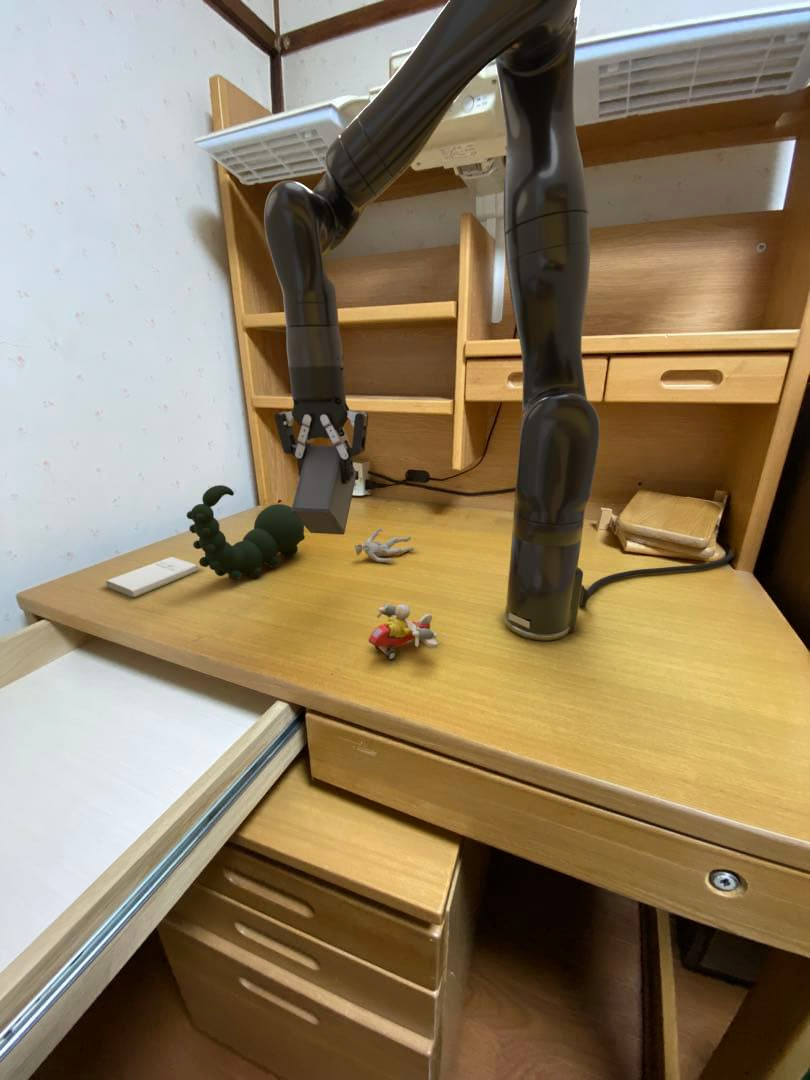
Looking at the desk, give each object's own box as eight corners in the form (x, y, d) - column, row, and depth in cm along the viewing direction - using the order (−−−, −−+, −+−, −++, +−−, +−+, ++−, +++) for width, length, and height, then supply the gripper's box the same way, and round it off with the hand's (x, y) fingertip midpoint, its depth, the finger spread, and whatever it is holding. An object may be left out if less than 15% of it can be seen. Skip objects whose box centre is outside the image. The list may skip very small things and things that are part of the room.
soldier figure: (418, 561, 93) (371, 558, 85) (404, 571, 96) (357, 569, 89) (409, 528, 96) (362, 522, 89) (395, 538, 99) (349, 533, 92)
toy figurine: (231, 605, 78) (327, 546, 97) (204, 500, 70) (315, 458, 89) (197, 591, 83) (295, 538, 102) (168, 492, 75) (280, 454, 94)
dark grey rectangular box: (324, 472, 76) (307, 445, 69) (357, 473, 75) (342, 446, 68) (310, 532, 72) (290, 510, 65) (344, 534, 71) (327, 512, 64)
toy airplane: (367, 661, 60) (365, 619, 58) (381, 625, 69) (380, 586, 66) (436, 667, 59) (437, 624, 57) (442, 630, 67) (443, 590, 65)
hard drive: (107, 588, 81) (171, 563, 91) (134, 599, 77) (198, 571, 87) (105, 579, 81) (170, 555, 91) (132, 590, 77) (196, 563, 87)
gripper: (255, 365, 62) (272, 487, 68) (356, 362, 59) (364, 490, 65) (281, 364, 69) (294, 475, 75) (373, 361, 66) (379, 477, 72)
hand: (327, 481), depth 70 cm, fingers closed on dark grey rectangular box, 5 cm apart
